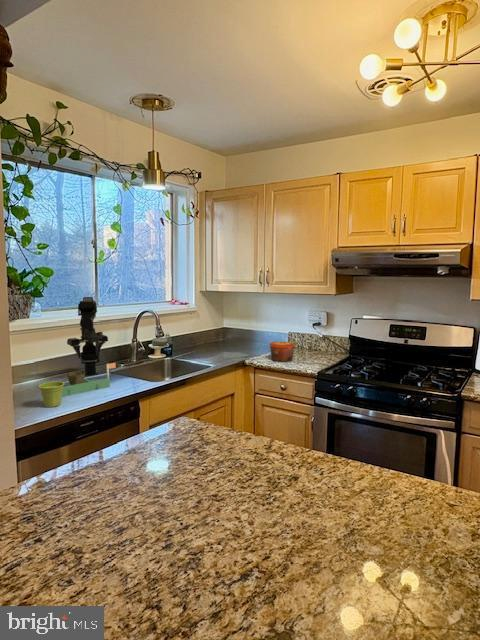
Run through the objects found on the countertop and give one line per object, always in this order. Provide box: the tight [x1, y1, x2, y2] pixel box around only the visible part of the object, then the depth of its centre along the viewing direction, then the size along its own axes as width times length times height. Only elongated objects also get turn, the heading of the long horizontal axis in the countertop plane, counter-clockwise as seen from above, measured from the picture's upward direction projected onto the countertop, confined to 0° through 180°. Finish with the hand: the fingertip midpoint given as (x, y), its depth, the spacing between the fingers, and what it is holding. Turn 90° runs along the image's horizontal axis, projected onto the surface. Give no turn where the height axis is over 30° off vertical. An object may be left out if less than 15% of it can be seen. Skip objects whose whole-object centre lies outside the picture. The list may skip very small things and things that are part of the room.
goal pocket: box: [62, 362, 117, 397], centre depth 193 cm, size 12×30×11 cm, turn 135°
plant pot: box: [38, 381, 65, 408], centre depth 169 cm, size 9×9×9 cm
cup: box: [67, 370, 86, 386], centre depth 192 cm, size 8×7×8 cm
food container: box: [269, 340, 296, 363], centre depth 258 cm, size 16×16×11 cm
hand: (88, 357), depth 208 cm, fingers open, 9 cm apart
